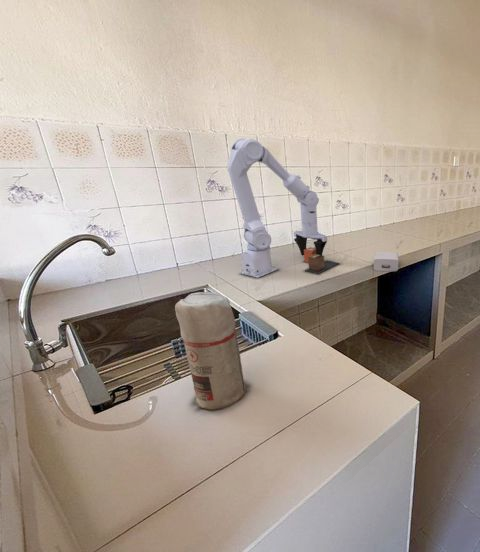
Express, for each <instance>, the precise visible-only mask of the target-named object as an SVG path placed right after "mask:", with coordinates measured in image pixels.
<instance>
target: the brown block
mask: <svg viewBox="0 0 480 552" xmlns="http://www.w3.org/2000/svg"><path fill="white" fill-rule="evenodd" d="M308 261H309V263H308V269H309V270H312V271H317V272H318V271H321V270H323V269H325V267H324V261H325V256H324V255H323V254H322V255H317V254H314V255H312V256H309V257H308Z"/></svg>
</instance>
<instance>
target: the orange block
mask: <svg viewBox="0 0 480 552" xmlns="http://www.w3.org/2000/svg"><path fill="white" fill-rule="evenodd" d="M314 254H316V248H315V246H314V247H311V246H310V247H306V249H304V255H303V260H304V263H308V264H309V261H308V257H309V256H312V255H314Z"/></svg>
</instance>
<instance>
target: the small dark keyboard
mask: <svg viewBox="0 0 480 552" xmlns="http://www.w3.org/2000/svg"><path fill="white" fill-rule="evenodd" d="M338 265H340V262H336V261H332V260H324V267H325V269H323V270H321V271H318V272H317V271H312V270H309V268H307V269H304V272H307V273H310V274H316V275H321V274H322V273H324V272H326V271H328V270H331V269H332V268H334V267H336V266H338Z"/></svg>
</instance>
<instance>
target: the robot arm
mask: <svg viewBox="0 0 480 552" xmlns="http://www.w3.org/2000/svg"><path fill="white" fill-rule="evenodd" d="M229 154H230V155H229V158H228V162H227V165H226V167H227V173H228V176H229V179H230V181H231V185H232V188H233V191H234V194H235V197H236V200H237V202H238V207H239V210H240V212H241V216H242V219H243V229H244V231H243V238H244V240H245V242H247V246H246V250H245V251H243V252H242V253H241V254H240V262H241V269H242V271H241V273H240V274H242V275H245V276H249V277H253V278H257V279H258V278H261V277H263V276H266V275H268V274H271V273H273V272H276V271H278V268H277V267H273V266H272V257H271V247H270V246H271V244H272V237H271V235H270V233H268V231H267V229H266V227H265V225H264V223H263V222H262V220H261V217H260V213H259V210H258V206H257V203H256V199H255V197H254V192H253V190H252V185H251V183H250V180H249V175H248V171H250V169H251V167H252V166H253V165H254V164H256V163H260V164H263V165H265V166H266V167H267V168H268V169H269V170H271V172H273V173H274V174H275V175H276V176H278V178H280V179H281V180H282V186H283V187H284V188H285V189H286V190H287V191H289V193H291V194H292V195H293V196H294V197H295V198H296V201H297V202H298V203H299V206H300V221H301V230H294V231H293V237H295V238H294V239H293V241H294V242H295V244H296V246H297V247H298V249H299V252H300V255H301V256H303V257H304V249H307V243H308V242H307V241H308V239H310V240H315V241H313V245H314V247H315V248H316V254H317V255H322V256H323V253H324V249H325V247H326V244H327V242H328V235H325V234H322V233H320V232H319V229H318V214H317V211H318V210H317V209H318V208H317V206H318V204H319V202H320V198H319V197H318V195H317V193H316V191H313V190H311V189H310V186H309V185H306V183H304V182H303V181H302V179H301V178H302V177H301V176H300V175H298V174H296V173H290V172H288V170H287V169H286V168H285V167H284V166H283V165H282V164H281V163H280V162H279V161H278V159H277V158H276V157H275V156H274V155H273V154H272V153H271V152H270V151H269V149H268V148H266V147H265V146H264V145H262V143H260V141H259V140H257V139H253V138H249V139H246V138H239V139H237V140H236V141H235V142H234V143H233V144H232V146H231V147H230V153H229Z"/></svg>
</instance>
